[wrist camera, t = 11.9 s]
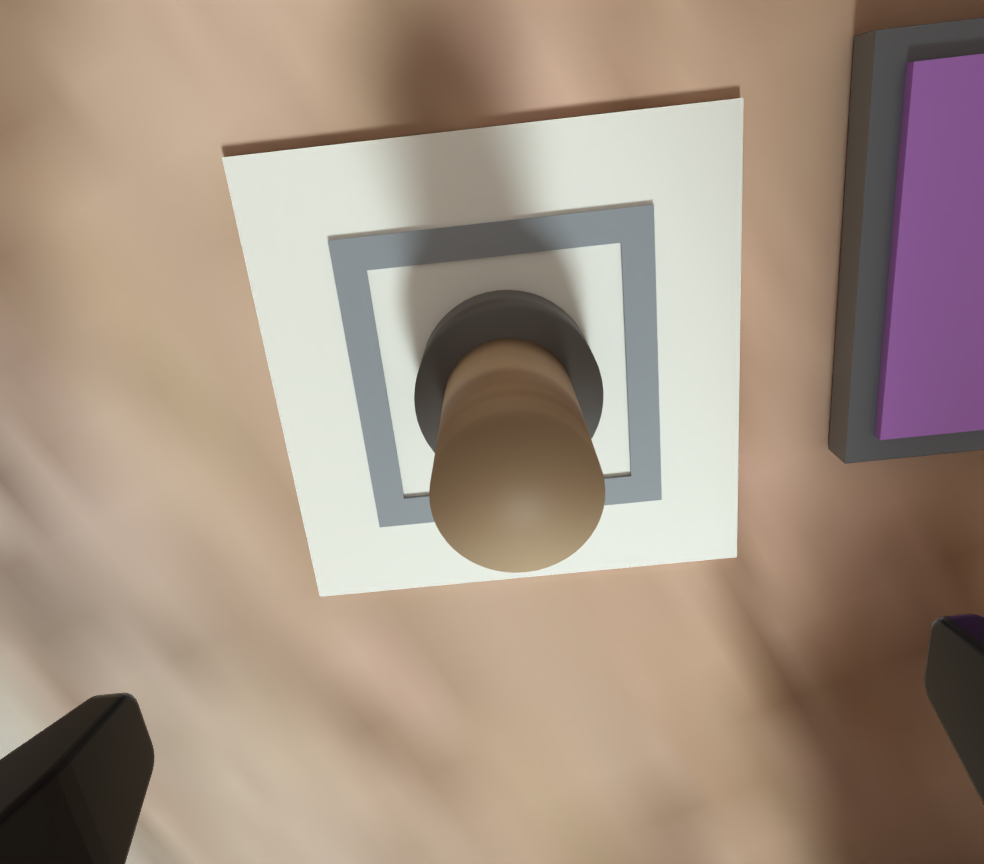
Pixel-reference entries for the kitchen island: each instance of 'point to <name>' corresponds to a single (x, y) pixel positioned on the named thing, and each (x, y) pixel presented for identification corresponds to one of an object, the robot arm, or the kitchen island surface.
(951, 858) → the kitchen island surface
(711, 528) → the sheet
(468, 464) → the stamp
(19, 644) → the kitchen island surface
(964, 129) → the ink pad
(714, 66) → the kitchen island surface
